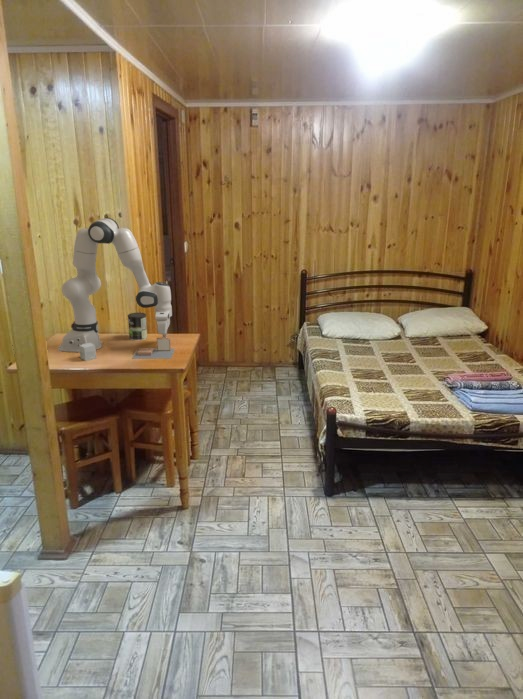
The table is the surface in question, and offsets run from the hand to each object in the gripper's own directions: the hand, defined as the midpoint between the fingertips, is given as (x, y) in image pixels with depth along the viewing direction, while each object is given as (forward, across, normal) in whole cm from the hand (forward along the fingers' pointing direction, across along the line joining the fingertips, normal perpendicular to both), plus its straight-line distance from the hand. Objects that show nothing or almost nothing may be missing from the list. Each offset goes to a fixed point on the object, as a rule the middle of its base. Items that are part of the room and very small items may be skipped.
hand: (164, 337), depth 267 cm
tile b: (+6, +5, 0) cm, 8 cm away
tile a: (+5, +6, -9) cm, 12 cm away
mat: (+6, +10, -4) cm, 13 cm away
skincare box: (+6, +16, -37) cm, 41 cm away
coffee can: (+6, -18, -18) cm, 26 cm away
